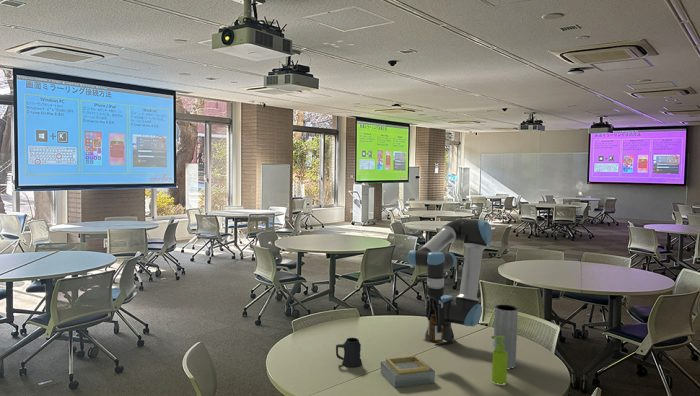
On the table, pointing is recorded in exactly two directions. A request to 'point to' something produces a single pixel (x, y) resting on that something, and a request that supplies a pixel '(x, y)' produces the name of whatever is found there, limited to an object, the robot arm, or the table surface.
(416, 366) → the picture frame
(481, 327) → the table surface
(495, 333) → the vase
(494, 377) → the soap dispenser
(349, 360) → the mug
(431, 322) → the condiment
